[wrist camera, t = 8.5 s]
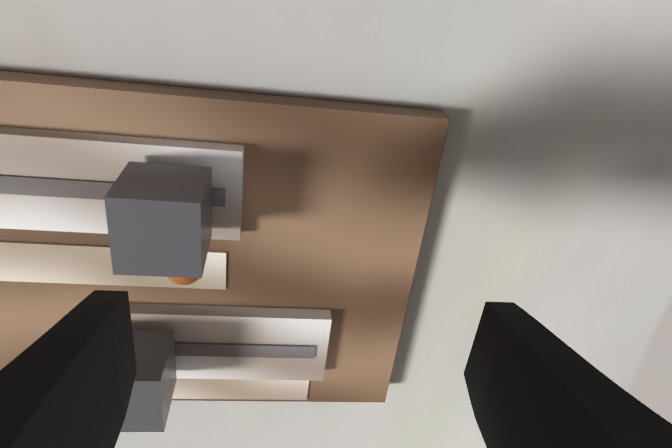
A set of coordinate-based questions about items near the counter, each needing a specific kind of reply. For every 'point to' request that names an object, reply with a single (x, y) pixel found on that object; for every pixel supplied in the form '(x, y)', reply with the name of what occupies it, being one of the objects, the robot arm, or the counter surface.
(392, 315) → the switch board
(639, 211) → the counter surface
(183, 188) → the switch
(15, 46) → the counter surface
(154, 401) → the switch
